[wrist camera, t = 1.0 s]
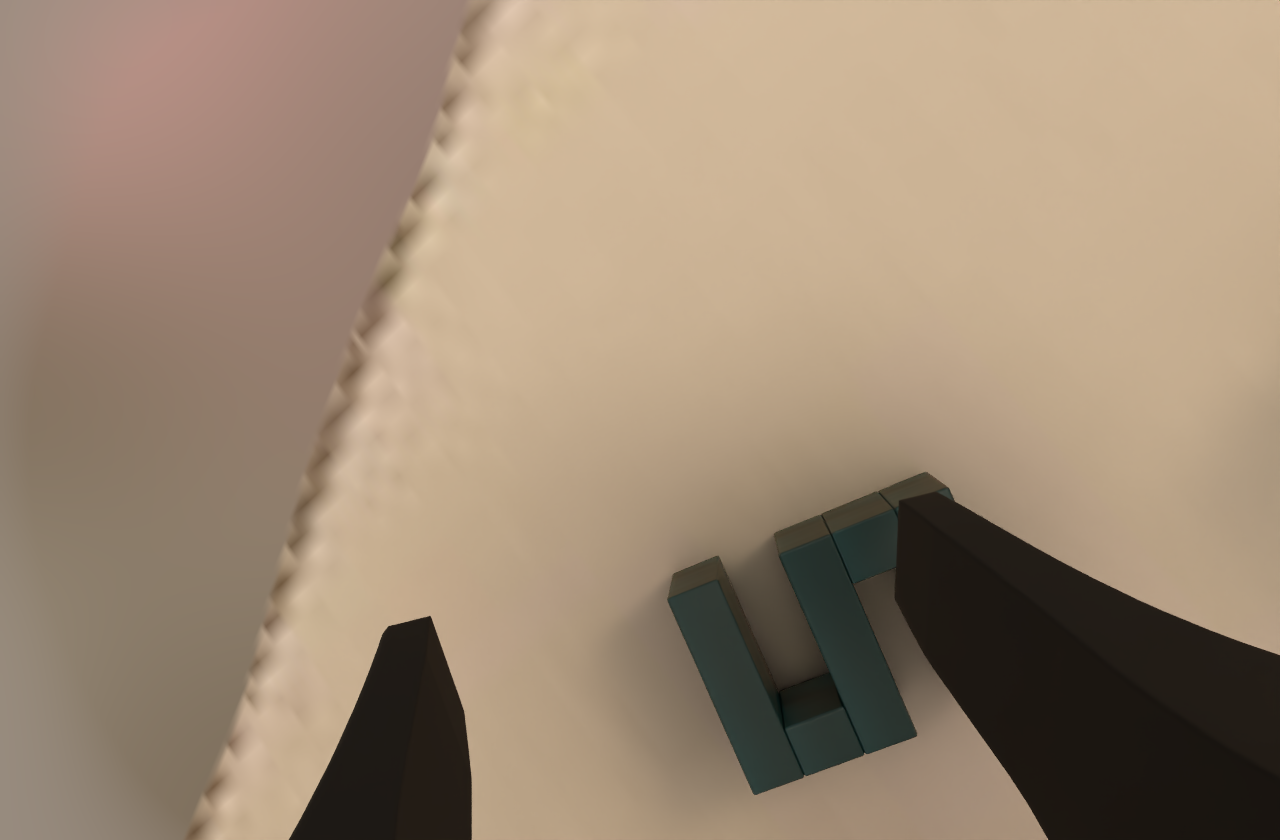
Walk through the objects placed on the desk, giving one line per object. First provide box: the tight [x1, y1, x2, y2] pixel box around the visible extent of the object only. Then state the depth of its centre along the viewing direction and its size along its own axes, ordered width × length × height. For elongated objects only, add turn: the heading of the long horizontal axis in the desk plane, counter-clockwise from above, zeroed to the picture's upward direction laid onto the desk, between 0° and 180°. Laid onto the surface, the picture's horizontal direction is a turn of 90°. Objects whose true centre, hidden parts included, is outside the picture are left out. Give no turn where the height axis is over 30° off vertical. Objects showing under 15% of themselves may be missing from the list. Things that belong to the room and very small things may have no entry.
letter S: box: [667, 472, 954, 795], centre depth 24 cm, size 8×6×2 cm
